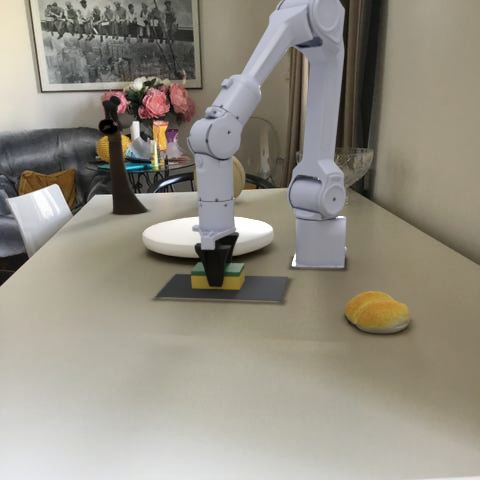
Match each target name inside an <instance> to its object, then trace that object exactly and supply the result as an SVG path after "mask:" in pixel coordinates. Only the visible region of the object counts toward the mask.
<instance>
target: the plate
mask: <svg viewBox="0 0 480 480" xmlns="http://www.w3.org/2000/svg"><path fill="white" fill-rule="evenodd" d="M234 218H235V225H236V231H235V232H238V233H239V237H238V239H237V241H236V244H235V247H234V250H233V255H232V257H235V256H242V255H244V254H248V253H252V252H255V251H258V250H260V249H262V248H264V247H266V246H268V245H270V244H271V243H272V242H273V241H274V237H275V235H274V234H275V233H274V228H273V227H272V226H271V225H270V224H269V223H266V222H264V221H261V220H257V219H252V218H247V217H241V216H234ZM194 225H199V216H191V217H183V218H178V219H176V218H175V219H171V220H165V221H161V222H158V223H155V224H153V225H150V226H149V227H147V228H146V229H145V230H144V231H143V232H142V236H141V240H142V244H143V246H144V247H145V248H147V249H148V250H150V251H152V252H155V253H156V254H161V255H164V256H165V255H166V256H172V257H179V258H191V259H192V258H193V259H200V258H199V256H198V255H197V253H196V252H195V247H194V246H195V245H196V244H197V243H201V236H200V234H199V232H196V231H192V227H193V226H194Z"/></svg>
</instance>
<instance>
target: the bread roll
mask: <svg viewBox="0 0 480 480" xmlns="http://www.w3.org/2000/svg"><path fill="white" fill-rule="evenodd" d="M344 313H345V316H346V318H347V320H348V321H349V322H350V323H351V324H353V325H355V326H356V327H357V328H358V329H359V330H360V331H363V332H365V333H371V334H373V333H375V334H393V333H398V332H400V331H403V330H404V329H406V328H407V327H408V326H409V324H410V321H411V313H410V309H409V308H408V306H407V304H405V303H402V302H400V301H396V300H395V299H394V298H393V297H392V296H390V295H388V294H387V293H385V292H382V291H377V290H369V291H368V290H367V291H363V292H361V293H359V294H357V295H355V296H354V297H353V298H351V299H350V300H349V301H348V303H347V304H346V305H345V307H344Z"/></svg>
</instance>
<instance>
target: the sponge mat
mask: <svg viewBox="0 0 480 480" xmlns="http://www.w3.org/2000/svg"><path fill="white" fill-rule="evenodd" d="M288 279H289V276H278V275H277V276H275V275H245V281H244V282H243V284H242V286H241V288H240V290H231V289H196V288H192V281H191V273H188V274H187V273H175V274H174V276H173V277H171V278H170V280H169V281H168V282H167V283H166V284H165V286H163V287H162V289H161V290H160V291H159V292H158V293H156V295H155V298H171V299H172V298H173V299H174V298H176V299H202V300H203V299H207V300H231V301H232V300H235V301H260V302H261V301H262V302H263V301H264V302H265V301H266V302H267V301H269V302H282V299H283V298H282V297H283V296H284V292H285V289H286V286H287V282H288Z"/></svg>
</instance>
